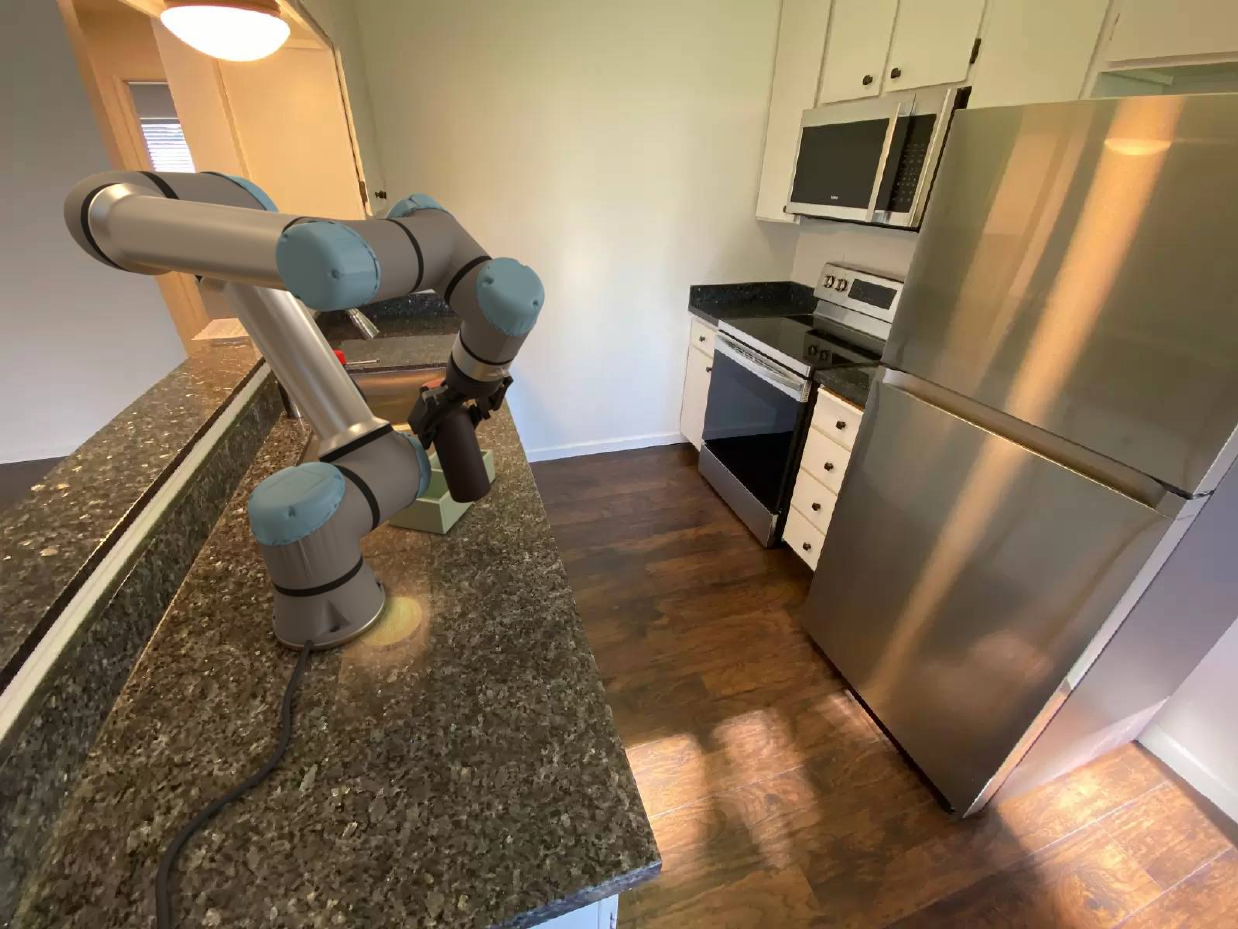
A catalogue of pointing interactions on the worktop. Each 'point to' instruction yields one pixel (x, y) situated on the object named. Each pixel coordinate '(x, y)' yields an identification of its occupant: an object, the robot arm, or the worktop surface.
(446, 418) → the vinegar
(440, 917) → the worktop surface
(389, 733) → the worktop surface
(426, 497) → the divided storage box
